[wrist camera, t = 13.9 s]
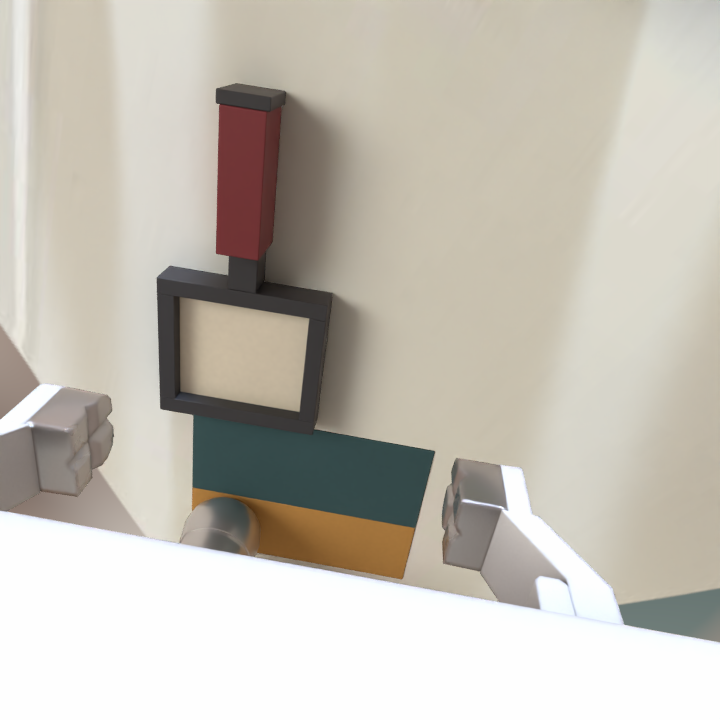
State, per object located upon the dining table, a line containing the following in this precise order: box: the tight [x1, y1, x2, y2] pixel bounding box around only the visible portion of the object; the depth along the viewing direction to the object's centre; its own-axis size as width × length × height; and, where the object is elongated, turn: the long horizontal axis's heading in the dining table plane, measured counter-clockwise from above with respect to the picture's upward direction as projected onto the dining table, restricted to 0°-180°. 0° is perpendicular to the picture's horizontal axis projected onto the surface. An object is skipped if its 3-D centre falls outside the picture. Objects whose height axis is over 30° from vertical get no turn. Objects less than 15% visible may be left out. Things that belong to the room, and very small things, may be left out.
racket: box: [157, 83, 333, 435], centre depth 42 cm, size 24×12×4 cm, turn 172°
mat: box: [192, 415, 435, 579], centre depth 53 cm, size 20×15×1 cm
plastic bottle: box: [180, 497, 261, 557], centre depth 46 cm, size 6×7×20 cm
